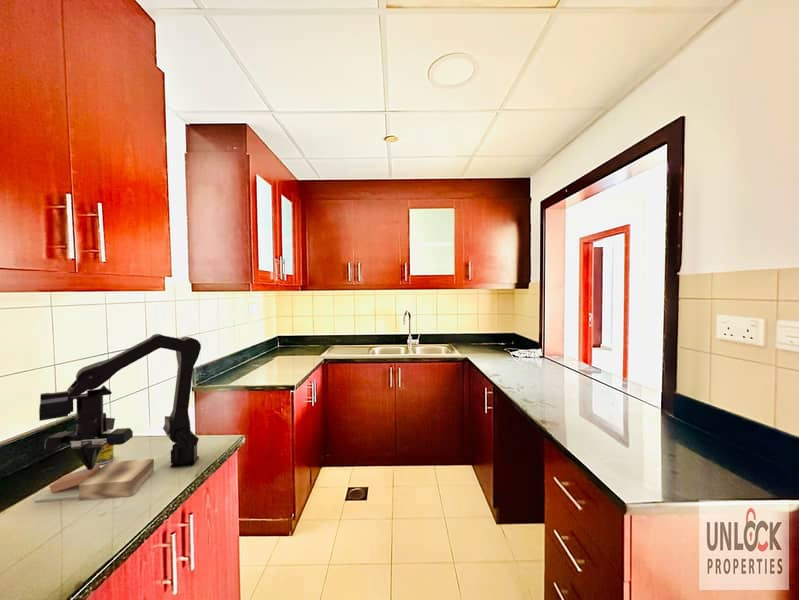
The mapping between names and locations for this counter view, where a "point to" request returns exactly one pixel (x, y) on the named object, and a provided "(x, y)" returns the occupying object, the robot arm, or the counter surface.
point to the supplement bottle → (105, 453)
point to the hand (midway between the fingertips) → (90, 469)
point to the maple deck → (116, 479)
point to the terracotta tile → (73, 479)
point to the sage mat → (60, 494)
